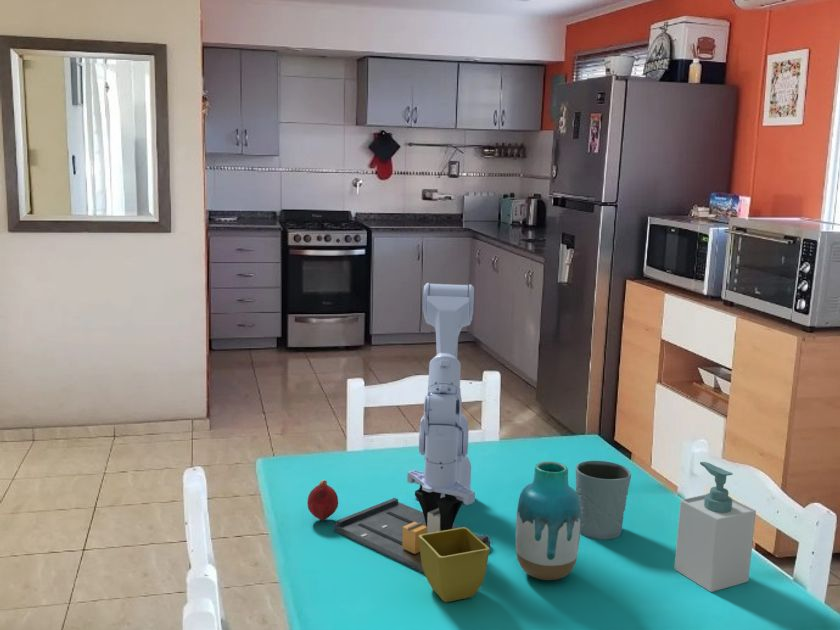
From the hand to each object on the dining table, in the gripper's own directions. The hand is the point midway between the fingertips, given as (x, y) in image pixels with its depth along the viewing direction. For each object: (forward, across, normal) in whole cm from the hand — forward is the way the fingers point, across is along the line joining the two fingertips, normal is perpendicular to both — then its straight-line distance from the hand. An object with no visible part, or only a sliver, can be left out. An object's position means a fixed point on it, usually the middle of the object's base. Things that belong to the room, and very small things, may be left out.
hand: (438, 529), depth 158 cm
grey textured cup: (+2, +18, +26) cm, 31 cm away
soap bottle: (+2, +41, +24) cm, 47 cm away
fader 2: (+1, 0, 0) cm, 1 cm away
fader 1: (+1, +1, -7) cm, 8 cm away
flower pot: (+2, +14, -12) cm, 19 cm away
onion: (+2, -21, -10) cm, 23 cm away
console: (+2, -4, -3) cm, 5 cm away
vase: (+2, +21, +4) cm, 21 cm away
